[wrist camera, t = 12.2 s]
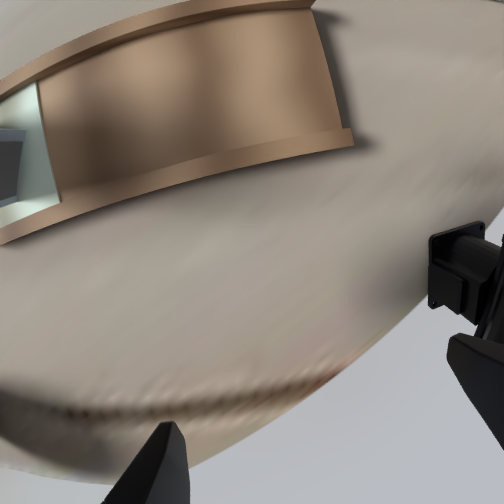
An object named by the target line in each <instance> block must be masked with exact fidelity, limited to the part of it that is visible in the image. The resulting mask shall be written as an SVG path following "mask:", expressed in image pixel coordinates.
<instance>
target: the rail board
mask: <svg viewBox="0 0 504 504" xmlns="http://www.w3.org/2000/svg"><path fill="white" fill-rule="evenodd" d="M314 2H315V0H190V1H186V2H181V3H177V4H173V5H169V6H166V7H162V8H158V9H155V10H152V11H148V12H145V13H142V14H139V15H136V16H133V17H130V18H127V19H124V20H121V21H118V22H115V23H113V24H110V25H108V26H105V27H102V28H100V29H97V30H95V31H93V32H90V33H88V34H86V35H83V36H81V37H79V38H77V39H74V40H72V41H70V42H68V43H66V44H64V45H62V46H60V47H58V48H56V49H54V50H52V51H50V52H48V53H46V54H44V55H42V56H40V57H39V58H37V59H35V60H33V61H31V62H30V63H28V64H26V65H24V66H23V67H21V68H19V69H18V70H16V71H15V72H13V73H11V74H10V75H8V76H7V77H5V78H3V79H2V80H0V128H2V129H16V130H26V135H25V141H24V147H23V153H22V160H21V168H20V176H19V186H18V197H17V202H16V203H13V204H10V205H7V206H4V207H1V208H0V245H2V244H4V243H7V242H9V241H11V240H14V239H16V238H19V237H21V236H24V235H26V234H29V233H31V232H34V231H36V230H39V229H42V228H44V227H47V226H49V225H52V224H55V223H57V222H60V221H63V220H66V219H68V218H71V217H74V216H77V215H80V214H82V213H85V212H88V211H91V210H94V209H97V208H100V207H103V206H106V205H109V204H112V203H115V202H118V201H122V200H125V199H128V198H131V197H134V196H138V195H141V194H144V193H148V192H151V191H154V190H158V189H161V188H165V187H168V186H172V185H175V184H179V183H183V182H186V181H190V180H194V179H198V178H201V177H205V176H209V175H213V174H217V173H221V172H225V171H229V170H233V169H238V168H242V167H246V166H251V165H255V164H260V163H264V162H269V161H273V160H278V159H283V158H288V157H293V156H298V155H303V154H308V153H314V152H319V151H325V150H330V149H336V148H342V147H348V146H354V142H353V137H352V131H351V128H345V129H342V124H341V119H340V115H339V110H338V106H337V101H336V97H335V93H334V88H333V84H332V80H331V76H330V72H329V69H328V65H327V61H326V57H325V54H324V50H323V47H322V43H321V40H320V36H319V33H318V29H317V26H316V23H315V20H314V17H313V13H312V10H311V6H312V4H313V3H314Z"/></svg>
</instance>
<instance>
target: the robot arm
mask: <svg viewBox="0 0 504 504" xmlns="http://www.w3.org/2000/svg"><path fill="white" fill-rule="evenodd" d="M484 236H485V224H484V223H483V222H481V221H477V222H474V223H470V224H467V225H464V226H461V227H458V228H454V229H451V230H448V231H445V232H441V233H438V234H435V235H432V236H431V237H430V238H429V266H428V306H429V307H430V308H431V309H435V308H438V307H440V306H443V305H445V306H446V307H448V308H449V309H450V310H452V311H453V312H454V313H456V314H457V315H459V314H461V315H462V316H464V317H465V318H466V319H467V320H469V321H470V322H471V323H473V324H474V325H475V326H476V325H478V326H477V329H476V332H475V334H474V336H470V335H467V334H463V333H458V334H456V335H454V336H452V337H450V339H449V343H448V349H447V361H448V364H449V365H450V367H451V369H452V370H453V372H454V374H455V376H456V377H457V379H458V381H459V383H460V385H461V386H462V388H463V390H464V392H465V393H466V395H467V396H468V398H469V399H470V401H471V402H472V404H473V405H474V407H475V408H476V409H477V411H478V412H479V414H480V415H481V417H482V418H483V420H484V421H485V423H486V424H487V426H488V427H489V429H490V430H491V431H492V433H493V435H494V436H495V438H496V439H497V441H498V442H499V444H500V445H501V447H502V449H503V450H504V234H503V237H502V242H503V243H502V247H499V246H497V245H495V244H493V243H491V242H488V241H486V240H485V237H484ZM435 240H436V241H435ZM434 241H435V243H434ZM101 504H190V480H189V471H188V462H187V453H186V443H185V439H184V436H183V435H182V433H181V431H180V430H179V428H178V426H177V425H176V423H175V422H174V421H165V422H161V423H160V424H159V425H158V426H157V428H156V429H155V430H154V432H153V433H152V435H151V436H150V437H149V439H148V440H147V442H146V443H145V444H144V446H143V447H142V448H141V450H140V451H139V453H138V454H137V455H136V457H135V458H134V460H133V461H132V462H131V464H130V465H129V466H128V468H127V469H126V471H125V472H124V473H123V475H122V476H121V477H120V479H119V480H118V481H117V483H116V484H115V486H114V487H113V489H112V490H111V491H110V492H109V494H108V495H107V496H106V498H105V499H104V501H103V502H102V503H101Z"/></svg>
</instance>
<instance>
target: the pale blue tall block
mask: <svg viewBox="0 0 504 504" xmlns="http://www.w3.org/2000/svg"><path fill="white" fill-rule="evenodd" d="M25 135H26V130H16V129H2V128H0V208H1V207H4V206H7V205H10V204H13V203H16V202H17V197H18V186H19V176H20V168H21V160H22V153H23V147H24V141H25Z"/></svg>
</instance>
